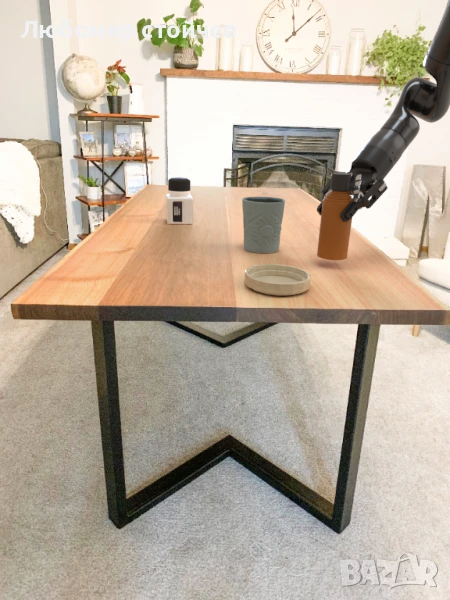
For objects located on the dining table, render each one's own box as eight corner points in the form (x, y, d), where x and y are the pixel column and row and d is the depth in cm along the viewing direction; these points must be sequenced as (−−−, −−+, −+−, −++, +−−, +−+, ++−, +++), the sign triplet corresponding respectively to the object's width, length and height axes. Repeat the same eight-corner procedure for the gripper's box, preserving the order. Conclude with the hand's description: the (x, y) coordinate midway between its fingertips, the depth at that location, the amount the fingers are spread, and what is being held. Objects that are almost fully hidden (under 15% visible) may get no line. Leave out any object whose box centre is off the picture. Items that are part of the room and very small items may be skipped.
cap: (344, 188, 93) (346, 172, 92) (352, 191, 90) (354, 174, 89) (327, 188, 93) (328, 172, 92) (334, 191, 89) (335, 174, 88)
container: (193, 224, 132) (193, 179, 127) (167, 224, 131) (166, 179, 126) (190, 219, 139) (191, 176, 134) (166, 219, 138) (165, 176, 133)
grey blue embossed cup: (269, 256, 102) (273, 204, 97) (231, 249, 107) (234, 198, 102) (288, 248, 110) (292, 199, 105) (252, 241, 115) (255, 194, 110)
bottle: (340, 252, 100) (349, 174, 94) (351, 260, 94) (362, 177, 88) (312, 252, 99) (320, 173, 93) (323, 260, 93) (332, 177, 87)
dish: (297, 275, 89) (299, 263, 88) (318, 296, 78) (319, 283, 77) (239, 276, 88) (240, 264, 87) (252, 298, 77) (252, 284, 76)
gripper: (346, 142, 97) (300, 199, 96) (400, 145, 86) (348, 209, 84) (360, 166, 102) (316, 221, 100) (413, 172, 90) (364, 234, 89)
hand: (331, 216), depth 92 cm, fingers closed on bottle, 6 cm apart
